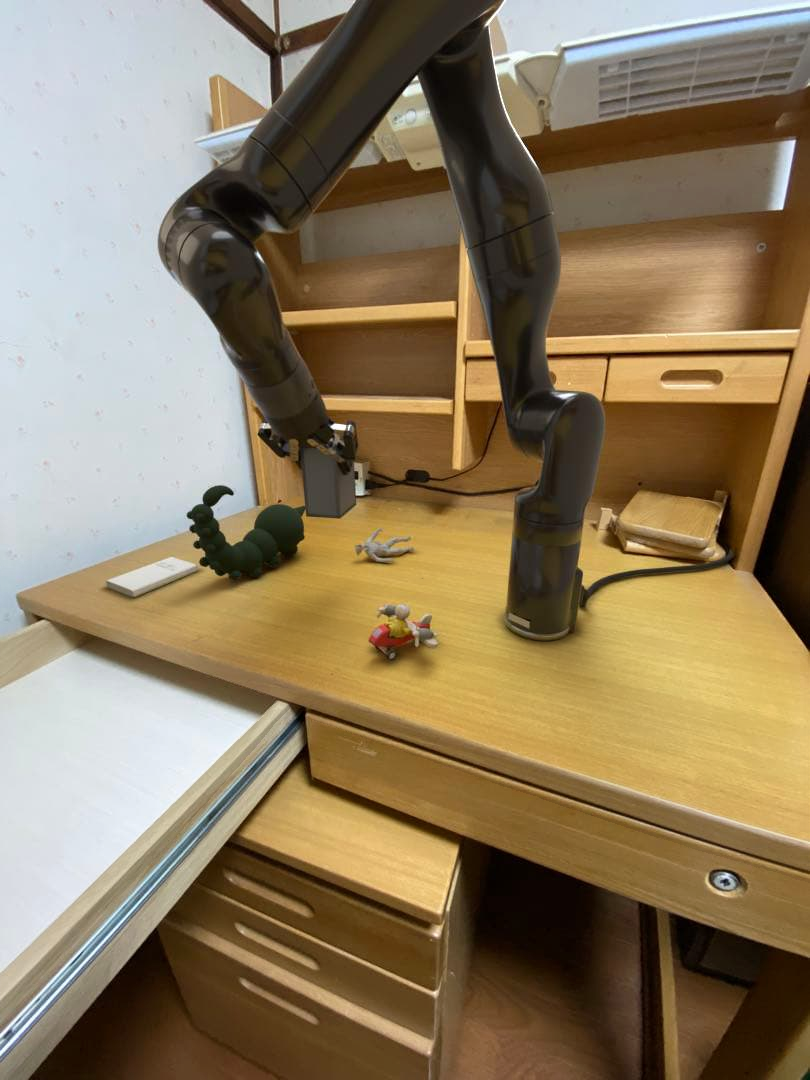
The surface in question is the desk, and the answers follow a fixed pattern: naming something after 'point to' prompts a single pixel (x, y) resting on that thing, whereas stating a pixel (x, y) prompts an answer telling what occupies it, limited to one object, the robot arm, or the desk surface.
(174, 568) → the hard drive
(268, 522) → the toy figurine
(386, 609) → the toy airplane
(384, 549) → the soldier figure
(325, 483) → the dark grey rectangular box
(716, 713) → the desk surface
